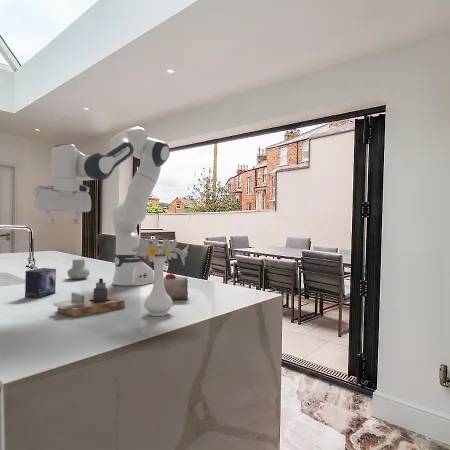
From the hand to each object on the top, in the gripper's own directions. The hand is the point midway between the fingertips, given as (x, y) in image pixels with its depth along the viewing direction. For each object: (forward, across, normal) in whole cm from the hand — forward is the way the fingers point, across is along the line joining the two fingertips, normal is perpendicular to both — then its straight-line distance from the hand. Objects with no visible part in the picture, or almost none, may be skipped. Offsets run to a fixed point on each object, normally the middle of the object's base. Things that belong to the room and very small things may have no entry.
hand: (63, 223), depth 137 cm
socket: (+29, +1, -20) cm, 35 cm away
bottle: (+28, +4, -20) cm, 35 cm away
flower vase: (+29, +14, -41) cm, 52 cm away
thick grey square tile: (+26, -7, -20) cm, 34 cm away
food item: (+30, +31, -25) cm, 50 cm away
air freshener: (+29, +28, +46) cm, 61 cm away
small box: (+29, -2, +16) cm, 33 cm away
